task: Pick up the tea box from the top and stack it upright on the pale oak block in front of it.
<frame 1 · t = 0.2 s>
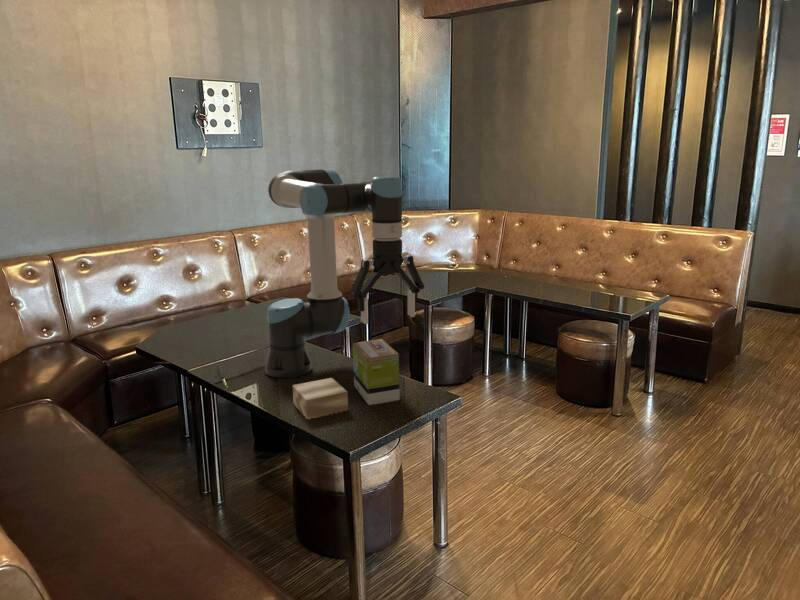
hand: (388, 319, 158), 28 cm above the table, tool pointing down, fingers open, 13 cm apart
oak block: (320, 408, 171), on the table
tea box: (376, 394, 180), on the table
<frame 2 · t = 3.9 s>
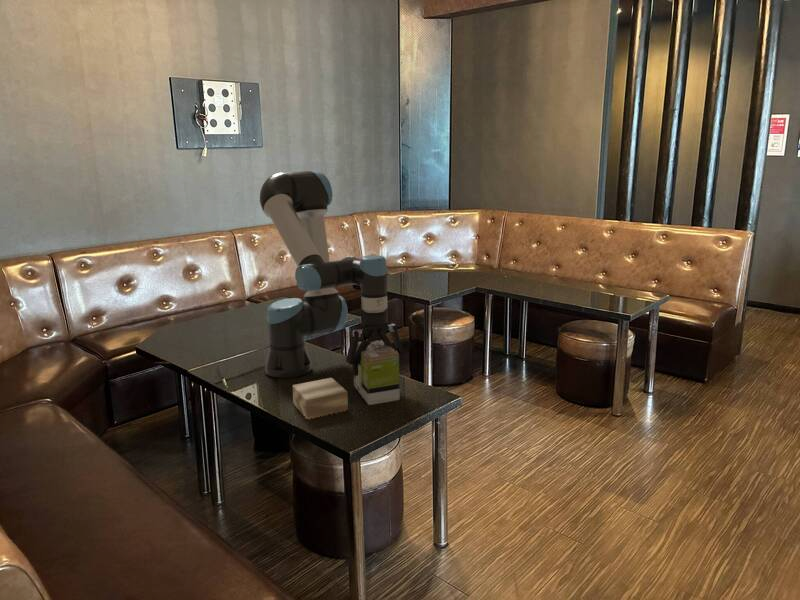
hand: (375, 381, 179), 4 cm above the table, tool pointing down, fingers closed on tea box, 10 cm apart
tea box: (376, 394, 180), on the table, touching gripper
everything else where it was.
when the fingers open (11 cm above the table, at t = 11.7 s): tea box drops 1 cm, resting on oak block.
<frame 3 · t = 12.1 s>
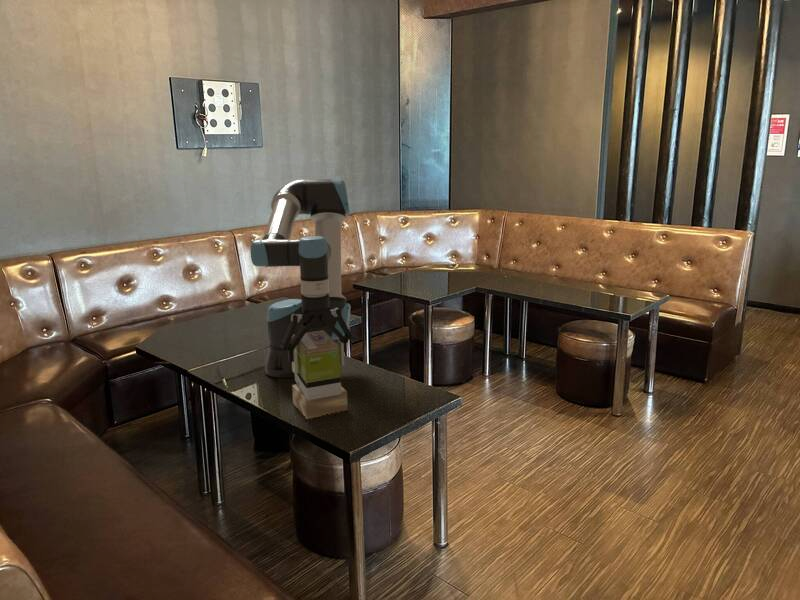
hand: (318, 368, 168), 12 cm above the table, tool pointing down, fingers open, 13 cm apart
oak block: (319, 407, 171), on the table, touching tea box
tea box: (317, 389, 170), point 5 cm above the table, touching oak block
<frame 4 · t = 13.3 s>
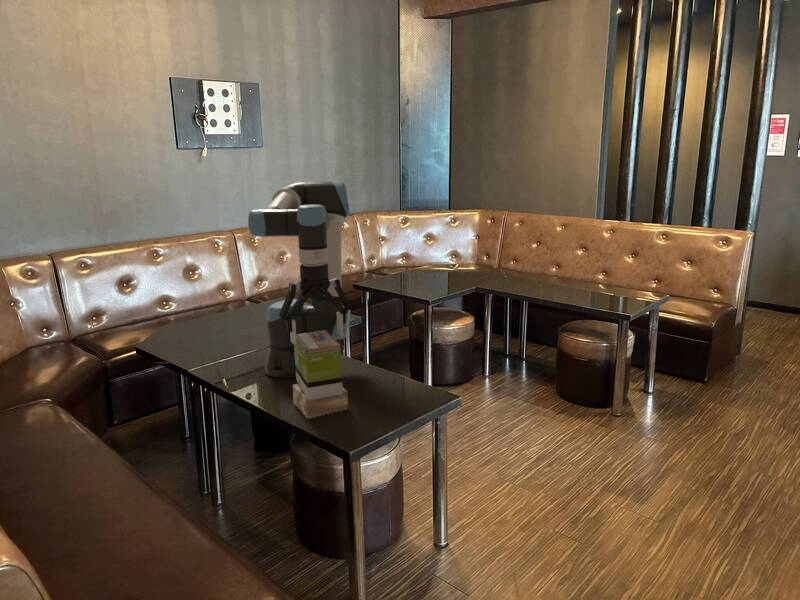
hand: (317, 339, 166), 20 cm above the table, tool pointing down, fingers open, 13 cm apart
nothing on the table moved.
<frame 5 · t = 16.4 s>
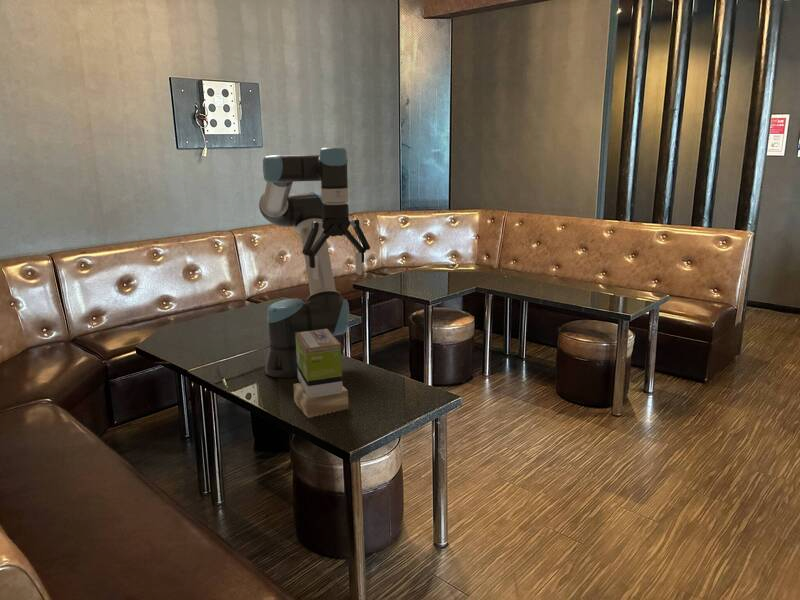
hand: (337, 276, 177), 35 cm above the table, tool pointing down, fingers open, 13 cm apart
oak block: (321, 406, 172), on the table
tea box: (319, 387, 171), point 5 cm above the table
at the end: tea box inside the target area on the oak block (0.4 cm from its centre), point 5.9 cm above the oak block's base; tea box tilted 1°; the gripper is holding nothing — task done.
